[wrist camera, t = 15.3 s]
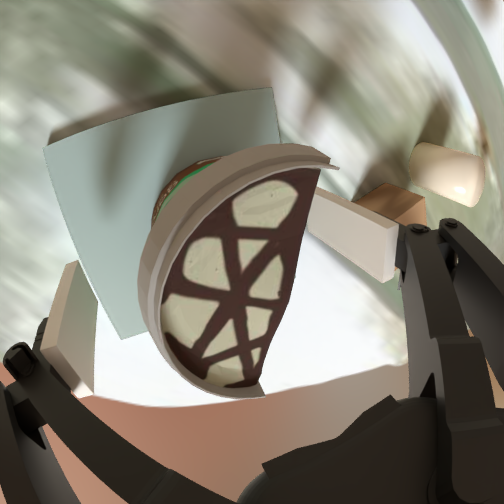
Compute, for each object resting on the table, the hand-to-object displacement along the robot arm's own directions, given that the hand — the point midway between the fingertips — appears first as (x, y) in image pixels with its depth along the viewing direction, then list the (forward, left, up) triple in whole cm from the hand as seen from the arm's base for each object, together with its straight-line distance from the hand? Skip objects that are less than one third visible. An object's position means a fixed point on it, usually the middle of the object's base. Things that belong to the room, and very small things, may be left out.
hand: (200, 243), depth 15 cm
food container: (0, 0, -4) cm, 4 cm away
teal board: (0, 0, -5) cm, 5 cm away
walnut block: (-17, +5, -5) cm, 18 cm away
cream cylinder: (-25, +1, -5) cm, 25 cm away
